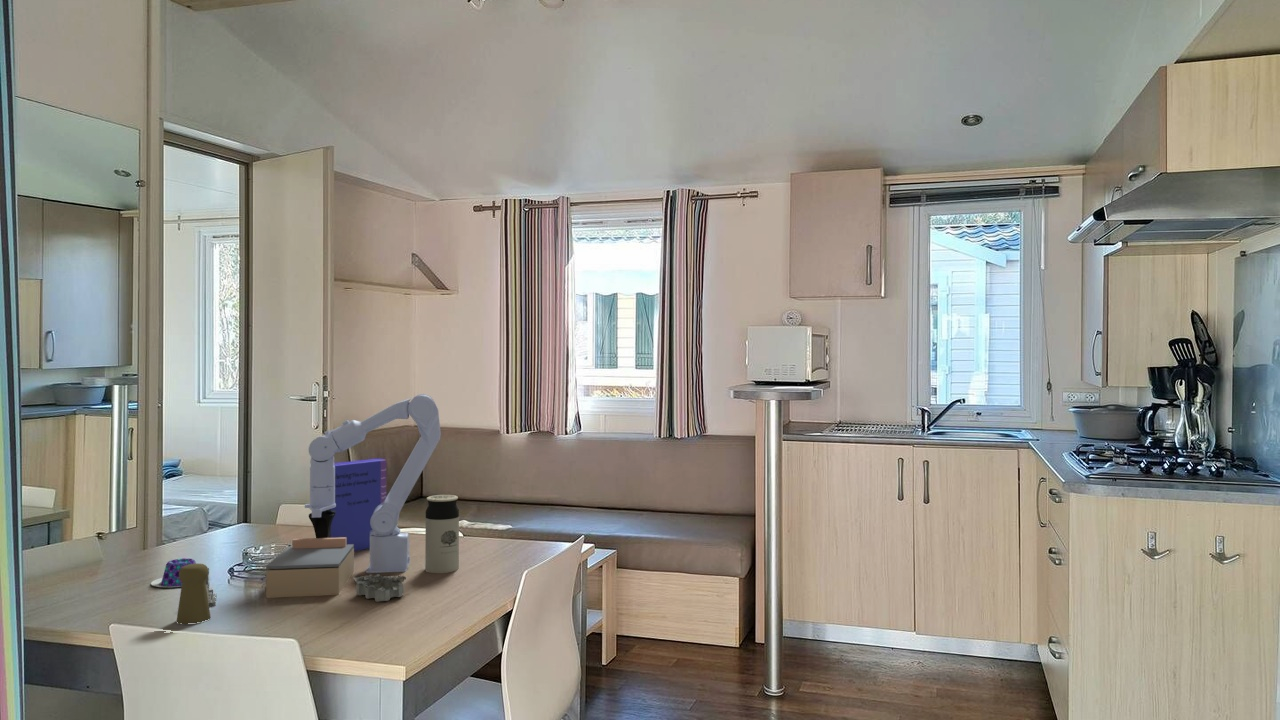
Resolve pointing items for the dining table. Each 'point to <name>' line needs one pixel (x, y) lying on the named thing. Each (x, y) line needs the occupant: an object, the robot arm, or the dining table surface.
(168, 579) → the purple spotted hat
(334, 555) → the lid
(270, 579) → the mailer box
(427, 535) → the travel mug
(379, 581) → the egg carton
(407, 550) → the robot arm
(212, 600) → the miniature stone castle
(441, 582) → the dining table surface
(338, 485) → the blue book
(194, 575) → the cork
